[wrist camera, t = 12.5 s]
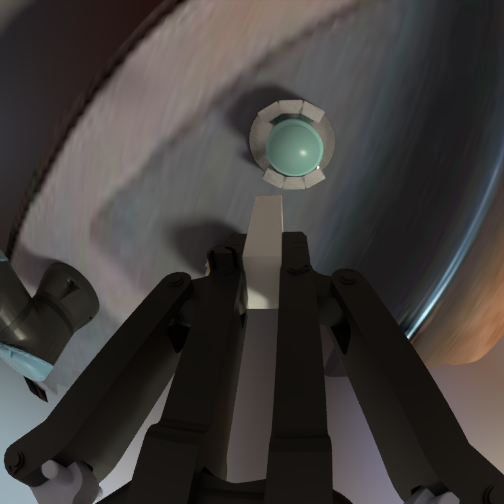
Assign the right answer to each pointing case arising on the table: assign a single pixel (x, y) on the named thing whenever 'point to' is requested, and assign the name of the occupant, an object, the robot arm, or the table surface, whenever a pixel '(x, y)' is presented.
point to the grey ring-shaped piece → (264, 126)
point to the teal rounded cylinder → (294, 147)
